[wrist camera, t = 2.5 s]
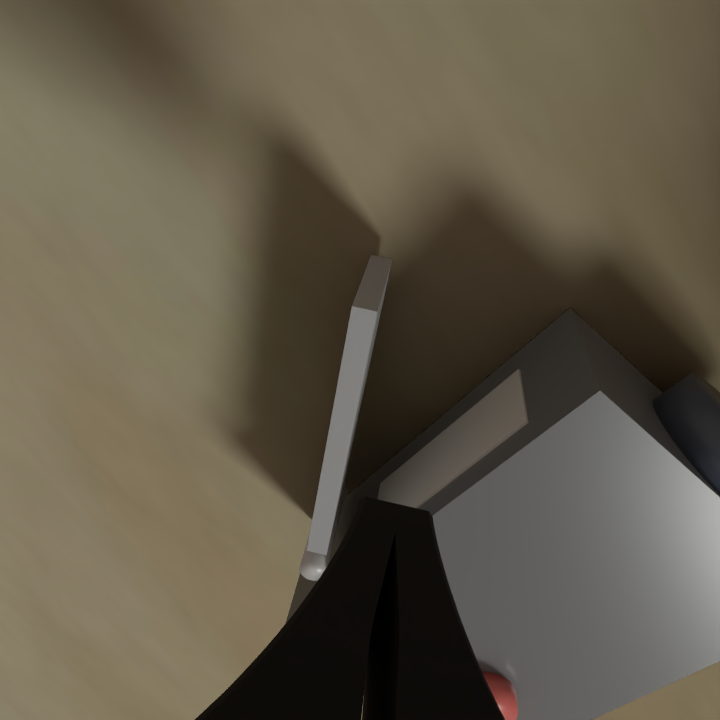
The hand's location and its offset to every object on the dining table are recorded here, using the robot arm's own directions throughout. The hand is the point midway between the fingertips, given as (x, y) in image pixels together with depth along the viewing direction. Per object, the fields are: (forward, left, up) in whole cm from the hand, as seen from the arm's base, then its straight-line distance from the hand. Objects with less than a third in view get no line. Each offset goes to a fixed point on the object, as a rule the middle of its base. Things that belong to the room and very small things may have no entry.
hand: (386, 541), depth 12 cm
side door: (+2, 0, -8) cm, 8 cm away
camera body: (+2, +7, -8) cm, 11 cm away
